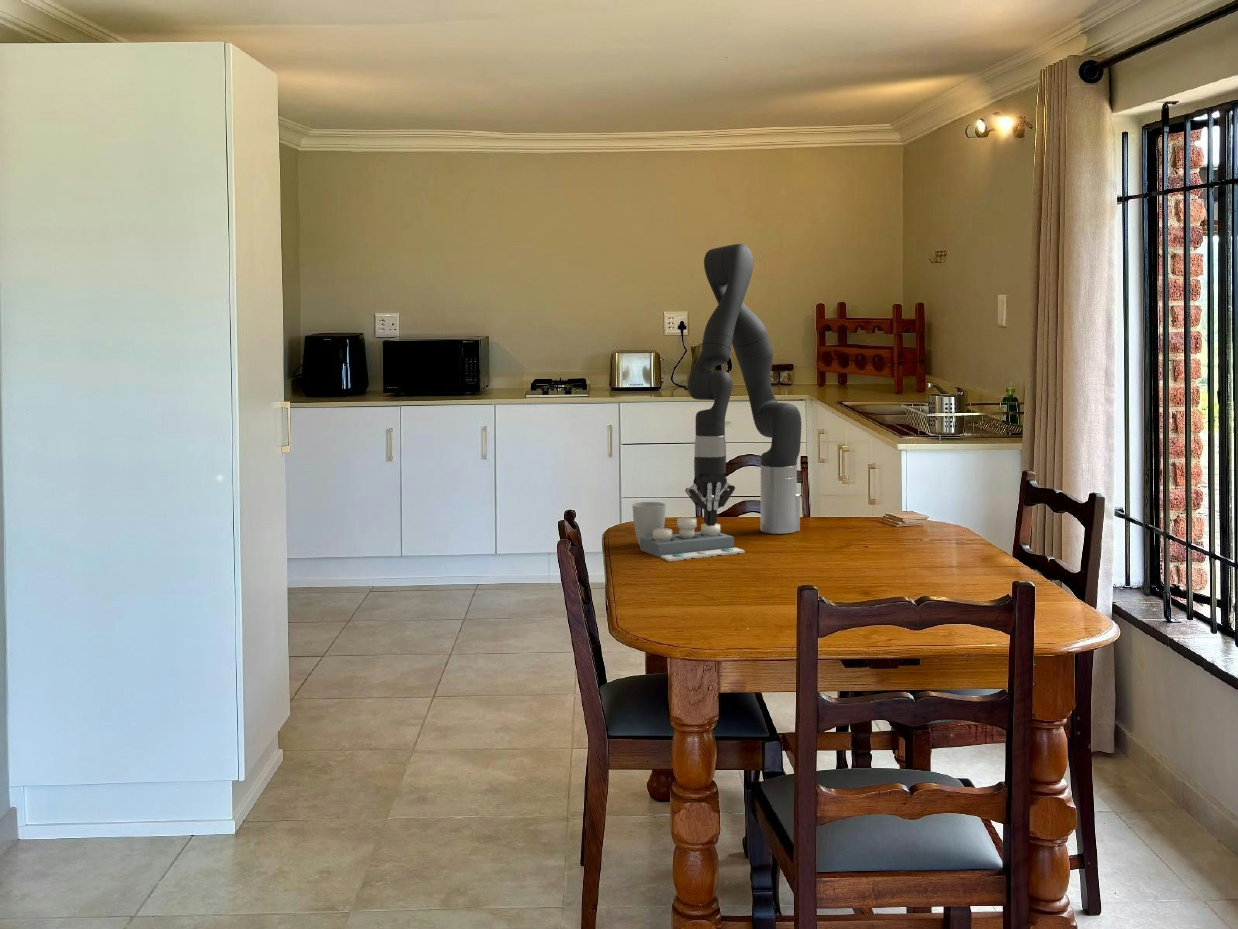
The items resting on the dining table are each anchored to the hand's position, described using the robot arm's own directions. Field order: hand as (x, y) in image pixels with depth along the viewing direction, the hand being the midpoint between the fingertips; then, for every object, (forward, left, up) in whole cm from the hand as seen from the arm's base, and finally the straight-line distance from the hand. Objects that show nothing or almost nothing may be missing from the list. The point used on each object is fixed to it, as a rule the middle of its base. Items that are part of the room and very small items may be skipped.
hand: (710, 525), depth 284 cm
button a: (0, 0, -5) cm, 5 cm away
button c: (+13, 0, -5) cm, 14 cm away
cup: (+12, -10, -6) cm, 16 cm away
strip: (+6, +8, -5) cm, 12 cm away
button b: (+6, 0, -3) cm, 7 cm away
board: (+6, 0, -5) cm, 8 cm away
